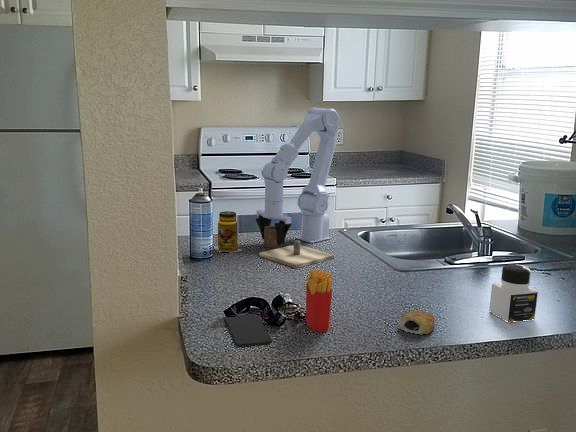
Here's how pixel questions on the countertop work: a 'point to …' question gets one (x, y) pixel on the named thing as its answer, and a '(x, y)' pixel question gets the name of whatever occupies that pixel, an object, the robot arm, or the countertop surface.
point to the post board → (296, 255)
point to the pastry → (417, 322)
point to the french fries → (318, 300)
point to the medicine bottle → (514, 294)
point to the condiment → (227, 232)
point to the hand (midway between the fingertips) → (272, 241)
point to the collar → (270, 237)
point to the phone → (248, 330)
